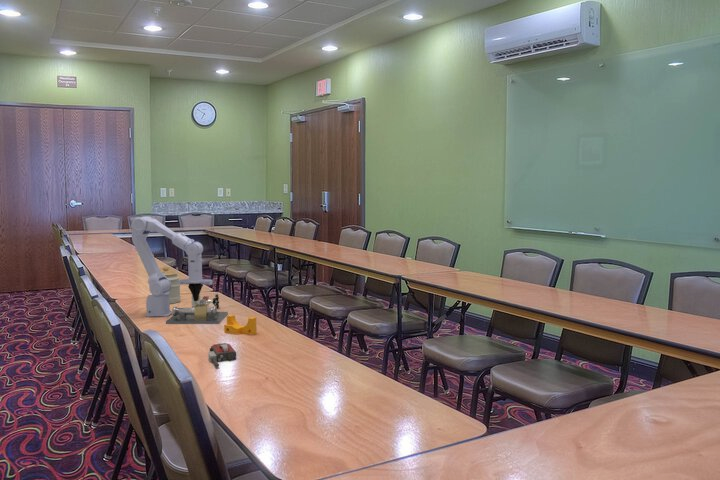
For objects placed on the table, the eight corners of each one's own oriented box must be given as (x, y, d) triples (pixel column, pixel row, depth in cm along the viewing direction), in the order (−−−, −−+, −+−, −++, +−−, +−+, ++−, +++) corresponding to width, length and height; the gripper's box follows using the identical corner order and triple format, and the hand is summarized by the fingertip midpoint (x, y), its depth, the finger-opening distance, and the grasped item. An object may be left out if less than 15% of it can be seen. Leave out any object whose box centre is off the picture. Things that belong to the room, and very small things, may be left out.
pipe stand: (165, 323, 245) (165, 309, 245) (178, 314, 263) (177, 300, 263) (219, 323, 246) (218, 309, 245) (227, 313, 264) (227, 300, 263)
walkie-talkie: (204, 353, 205) (214, 370, 187) (203, 340, 205) (213, 356, 187) (229, 350, 209) (242, 366, 190) (229, 338, 208) (241, 353, 190)
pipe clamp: (224, 333, 232) (224, 316, 231) (231, 330, 235) (230, 314, 235) (250, 336, 227) (249, 319, 226) (256, 333, 231) (256, 317, 230)
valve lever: (203, 305, 252) (203, 300, 252) (198, 305, 252) (198, 300, 252) (209, 300, 263) (209, 295, 263) (204, 300, 263) (204, 295, 263)
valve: (192, 311, 269) (219, 309, 274) (192, 297, 269) (219, 295, 273) (191, 308, 275) (217, 306, 280) (190, 294, 275) (217, 292, 279)
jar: (185, 301, 290) (184, 266, 288) (161, 305, 281) (160, 268, 279) (172, 298, 299) (171, 263, 297) (147, 301, 290) (146, 266, 288)
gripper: (175, 271, 255) (176, 302, 256) (209, 271, 254) (209, 302, 256) (181, 268, 262) (182, 299, 263) (213, 269, 261) (214, 299, 263)
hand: (196, 300), depth 260 cm, fingers closed
